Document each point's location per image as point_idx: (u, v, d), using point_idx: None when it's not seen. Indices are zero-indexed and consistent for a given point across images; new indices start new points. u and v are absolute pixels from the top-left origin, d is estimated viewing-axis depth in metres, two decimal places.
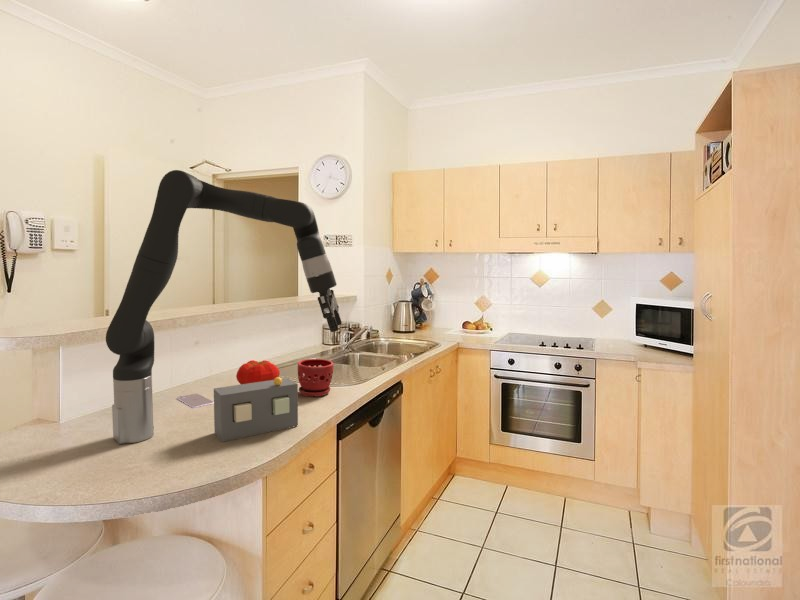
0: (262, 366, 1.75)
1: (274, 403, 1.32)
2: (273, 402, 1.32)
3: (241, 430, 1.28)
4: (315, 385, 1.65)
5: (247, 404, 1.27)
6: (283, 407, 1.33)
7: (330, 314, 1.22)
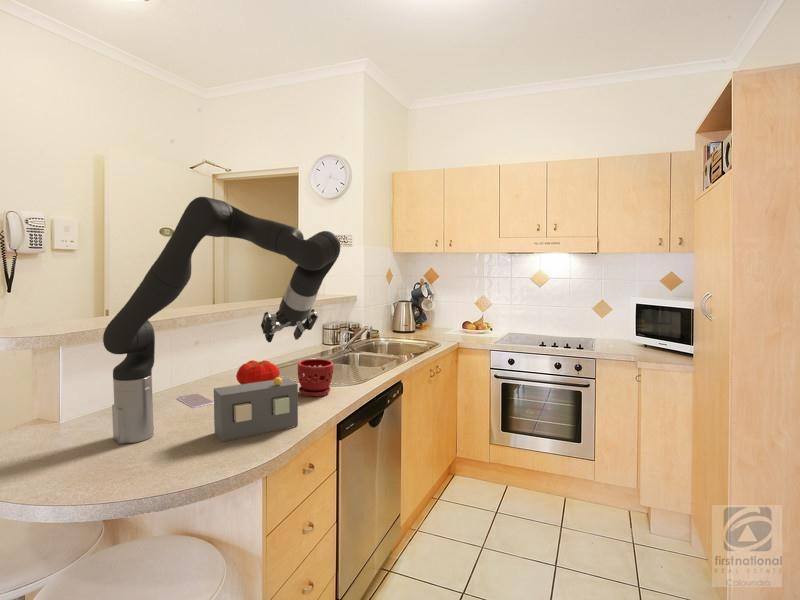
0: (262, 366, 1.75)
1: (274, 403, 1.32)
2: (273, 402, 1.32)
3: (241, 430, 1.28)
4: (315, 385, 1.65)
5: (247, 404, 1.27)
6: (283, 407, 1.33)
7: (263, 331, 1.17)
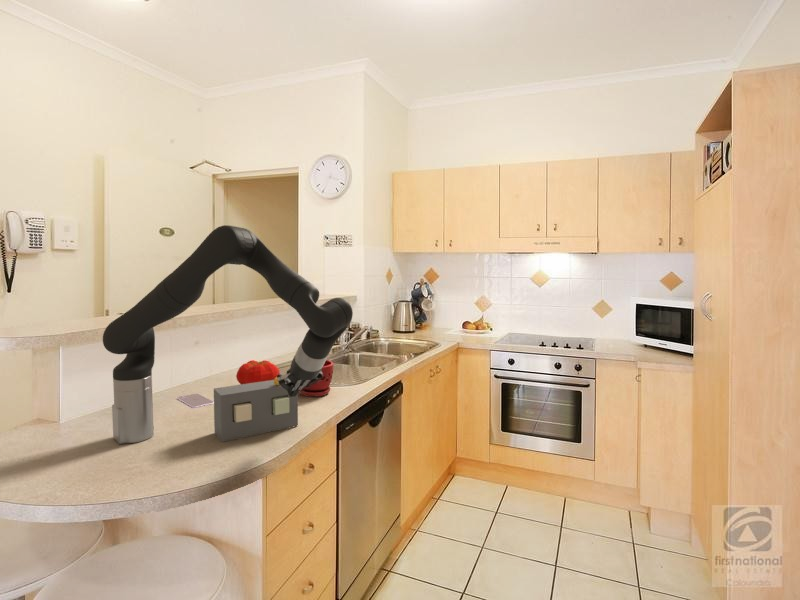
0: (262, 366, 1.75)
1: (274, 403, 1.32)
2: (273, 402, 1.32)
3: (241, 430, 1.28)
4: (315, 385, 1.65)
5: (247, 404, 1.27)
6: (283, 407, 1.33)
7: None
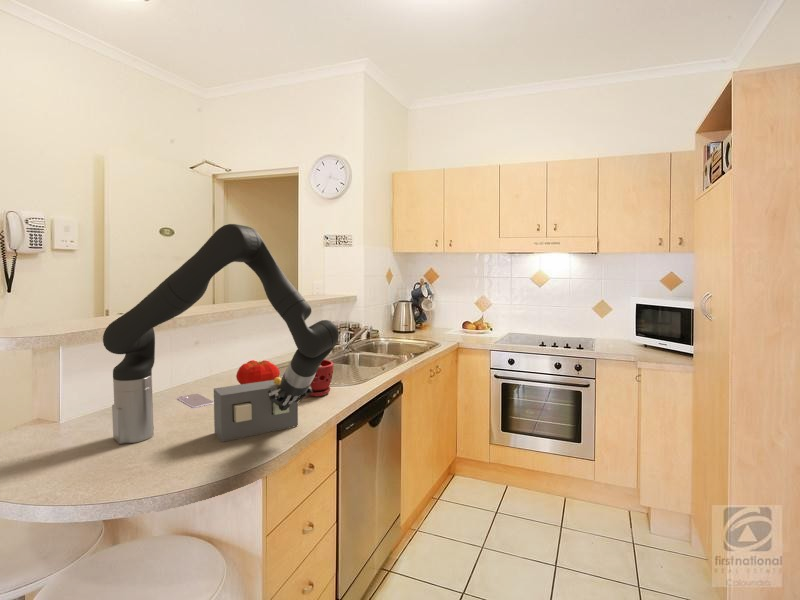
0: (262, 366, 1.75)
1: (273, 403, 1.32)
2: None
3: (241, 430, 1.28)
4: (315, 385, 1.65)
5: (247, 404, 1.27)
6: None
7: None
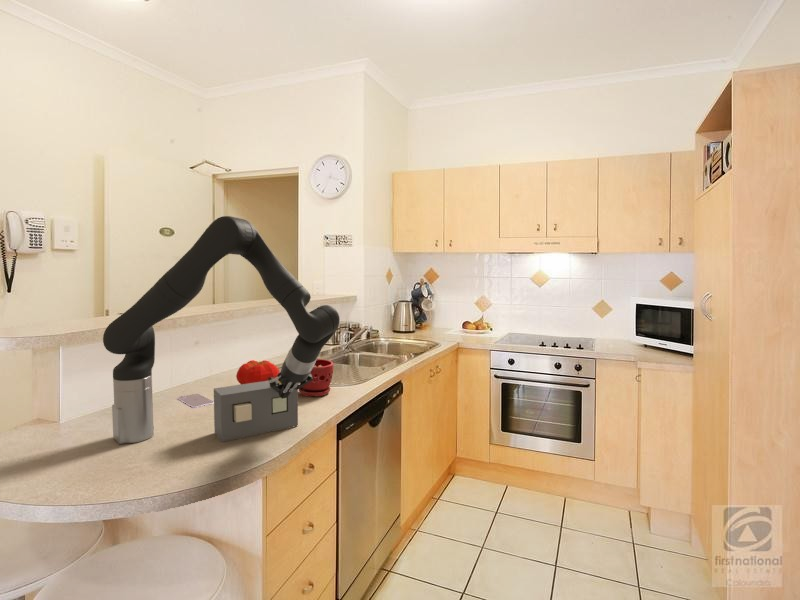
0: (262, 366, 1.75)
1: None
2: None
3: (241, 430, 1.28)
4: (315, 385, 1.65)
5: (247, 404, 1.27)
6: (280, 405, 1.35)
7: None
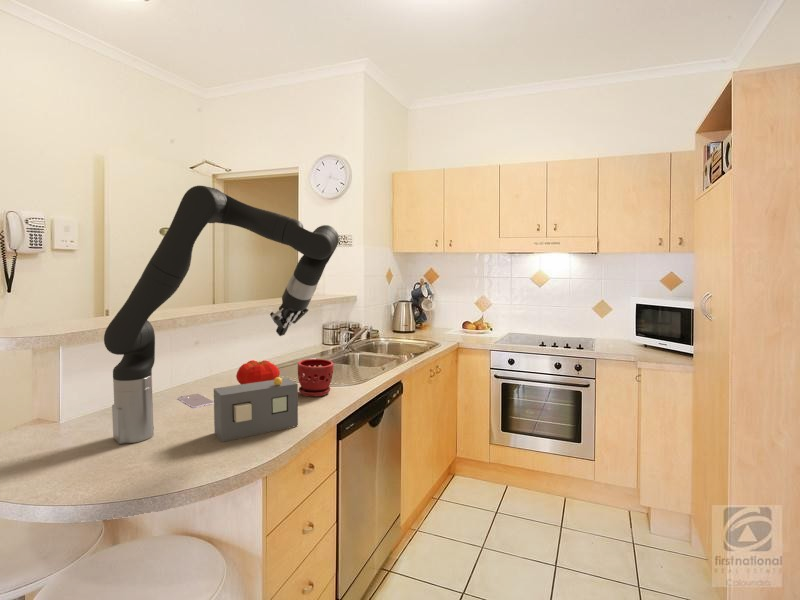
0: (262, 366, 1.75)
1: None
2: None
3: (241, 430, 1.28)
4: (315, 385, 1.65)
5: (247, 404, 1.27)
6: (280, 405, 1.35)
7: (278, 326, 1.30)
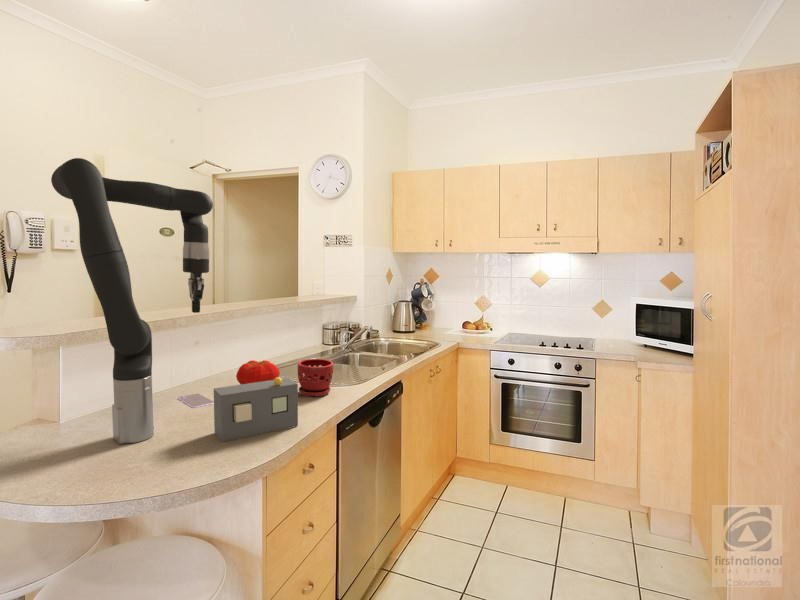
0: (262, 366, 1.75)
1: None
2: None
3: (241, 430, 1.28)
4: (315, 385, 1.65)
5: (247, 404, 1.27)
6: (280, 405, 1.35)
7: (200, 298, 1.42)
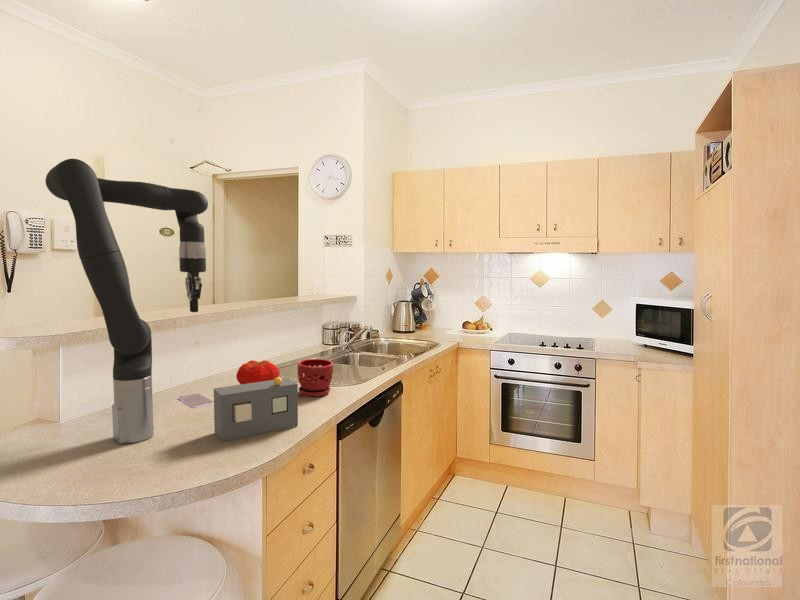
0: (262, 366, 1.75)
1: None
2: None
3: (241, 430, 1.28)
4: (315, 385, 1.65)
5: (247, 404, 1.27)
6: (280, 405, 1.35)
7: (198, 297, 1.42)
